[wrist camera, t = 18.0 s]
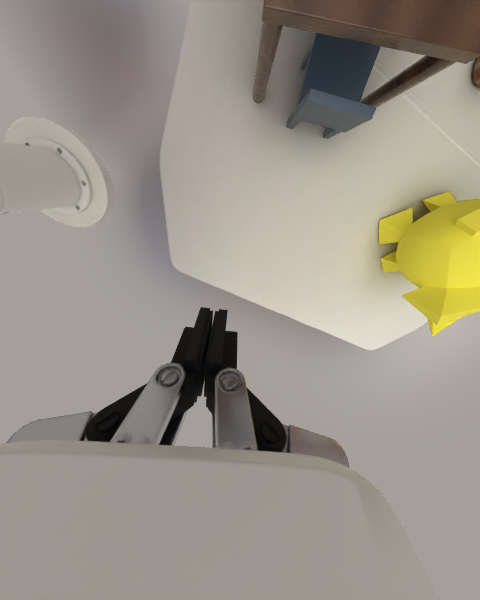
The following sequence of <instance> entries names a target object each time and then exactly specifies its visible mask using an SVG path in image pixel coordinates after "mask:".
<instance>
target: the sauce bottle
mask: <svg viewBox="0 0 480 600" xmlns="http://www.w3.org/2000/svg"><path fill="white" fill-rule="evenodd" d="M473 81H474V83H475V84H476V85H477V86H478V87H480V56H479V57H477V60H476V62H475V64H474V69H473Z"/></svg>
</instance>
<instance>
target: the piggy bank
mask: <svg viewBox="0 0 480 600" xmlns="http://www.w3.org/2000/svg"><path fill="white" fill-rule="evenodd" d="M423 202H424V203H425V205H426V206H427V208H428V209H429V210H430V212H429V213H428V214H426V215H424V216H423V217H421V218H420V219H418V220H417V221H415V222H414V223H413V209H412V208H410V209H407V210H404V211H402V212H399V213H396V214H394V215H391V216H389V217H386V218H383V219H381V220H379V245H380V244H388V243H396V242H398V247H397V250H396V251H394V252H392V253H390V254H388V255H386V256H384V257H382V258H380V259H381V264H382V268H383V272H401V273H402V274H403V275H404V276H405V277H406V278H407V279H408V280H409V281H410V282H412V283H413V284H415V285H416V286H418V287H419V289H416V290H414V291H411V292H409V293H407V294H404V295H402V297H404V298H405V299H406V300H407V301H408V302H409V303H411V304H412V305H413V306H414V307H415V308H417V309H418V310H419V311H420V312H421V313H423V314H424V315H425V316H426V317H427V319H428V322H429V326H430V330H431V333H432V336H434V335H435V334H437V333H438V332H440V331H441V330H443V329H444V328H446V327H447V326H449V325H450V324H452V323H453V322H455V321H456V320H457V319H459V318H460V317H464V316H467V315H469V314H473V313H475V312H478V311H480V199H473V200H464V201H459V202H457V201H456V200H455V198H454V197H453V196H452V194H451V193H450V192H445V193H442V194H439V195H436V196H433V197H430V198H427V199H424V200H423Z"/></svg>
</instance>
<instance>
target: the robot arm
mask: <svg viewBox="0 0 480 600" xmlns="http://www.w3.org/2000/svg"><path fill="white" fill-rule="evenodd" d="M91 201H92V186H91V182H90V179H89V177H88V174H87V173H86V171H85V169H84V167H83V166H82V164H81V163H80V162H79V160H78V159H77V158H76V157H75V156H74V155H73V154H72V153H71V152H70V151H69V150H67V149H66V148H65V147H63V146H62V145H60V144H59V143H56V142H54V141H52V140H49V139H45V138H39V137H34V138H29V139H27V140H25V141H24V142H23V143H22V144H16V143H10V142H5V141H0V215H2V214H11V213H18V212H26V211H34V210H41V209H49V208H53V209H54V210H57V211H59V212H62V213H66V214H75V213H80V212H83V211H84V210H86V209H87V208H88V207H89V205H90V203H91ZM212 316H213V311H210V308H203V307H201V308H200V311H199V314H198V317H197V320H196V323H195V326H194V328H192V327H185V328H184V331H183V333H182V336H181V338H180V341H179V344H178V346H177V349H176V351H175V354H174V356H173V359H172V361H171V363H167V364H165V365H162V366H161V367H159V368H158V369H157V370H156V371H155V373H154V374H153V376H152V377H151V379H150V380H149V382H148V383H147V384H145V385H144V386H142V387H140V388H138V389H137V390H135V391H133V392H132V393H130V394H128V395H126V396H125V397H123V398H121V399H119V400H118V401H116V402H114V403H112V404H111V405H109V406H107V407H106V408H104V409H102V410H101V411H100V412H98V413H92V412H85V413H79V414H73V415H66V416H60V417H54V418H47V419H41V420H37V421H33V422H31V423H29V424H27V425H25V426H23V427H22V428H20V429H19V430H18V431H17V432H15V433H14V434H13V435H12V436H11V438H10V439H9V440H8V441H7V443H6V444H1V445H0V600H440V599H439V597H438V595H437V593H436V590H435V588H434V586H433V584H432V582H431V580H430V578H429V576H428V574H427V572H426V570H425V568H424V566H423V564H422V562H421V560H420V558H419V556H418V554H417V552H416V550H415V549H414V546H413V544H412V542H411V540H410V539H409V537H408V535H407V533H406V531H405V529H404V527H403V526H402V524H401V522H400V520H399V518H398V517H397V515H396V513H395V512H394V510H393V508H392V507H391V505H390V504H389V502H388V501H387V499H386V498H385V497H384V496H383V494H382V493H381V492H380V491H379V490H378V489H377V488H376V487H375V486H374V485H373V484H372V483H371V482H370V481H368V480H367V479H365V478H364V477H363V476H361V475H360V474H358V473H357V472H355V471H353V470H352V469H350V468H349V464H348V459H347V456H346V454H345V452H344V450H343V449H342V447H341V446H340V445H339V444H338V443H337V442H336V441H335V440H333V439H331V438H328V437H326V436H322V435H320V434H316V433H313V432H311V431H307V430H304V429H301V428H298V427H295V426H292V425H289V426H286V425H283V424H282V423H281V422H280V421H279V420H278V419H277V418H276V417H275V416H274V415H273V414H272V413H271V412H270V411H269V410H268V409H267V408H266V407H265V406H264V405H263V404H262V402H260V400H259V399H258V398H257V397H255V395H253V393H251V391H249V389H248V388H247V387H246V383H245V378H244V376H243V374H242V373H241V372H240V371H238V370H237V332H231V331H225V329H226V319H227V310H220V309H219V311H216V312H215V316H214V320H213V325H212V318H213V317H212ZM204 379H205V384H204ZM203 384H204V385H205V386H204V397H207V399H206V407H208V409H209V411H210V412H211V413H212V448H205V447H187V446H174V445H175V443H176V440H177V437H178V435H179V432H180V429H181V427H182V424H183V422H184V419H185V416H186V414H187V410H188V409H189V408H191V407H192V406H193V405H194V402H196V401H197V396H201V394H202V389H203Z"/></svg>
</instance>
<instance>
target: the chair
mask: <svg viewBox="0 0 480 600" xmlns="http://www.w3.org/2000/svg"><path fill="white" fill-rule="evenodd" d="M380 47H381V46H378V45H373V44H369V43H364V42H359V41H354V40H349V39H345V38H340V37H335V36H330V35H325V34H321V33H316V32H315V36H314V39H313V41H312V43H311V45H310V47H309V49H308V51H307V53H306V55H305V57H304V59H303V62H302V66H301V69H302V70H305V75H304V79H303V82H302V86H301V90H300V94H299V98H298V102H297V106H296V110H295V111H294V113H293V114H292V116H291V117H290V118H289V120H288V123H287V128H291V129H292V128H293V127H294V126H295V125H296V124H297V123H298V122H299V120H303V121H306V122H310V123H314V124H317V125H321V126H324V127H328V128H327V129H326V130H325V132H324V135H323V137H324V138H330V137H332V136H334V135H336V134H338V133H340V132H342V131H343V132H346V131H348V130H350V129H352V128H354V127H356V126H358V125H360V124H362V123H364V122H366V121H369V120H371V119H372V117H373V114H374V112H375V110H376V107H373V106H370V105H366V104H363V103H360V102H359V101H360V99H361V96H362V93H363V91H364V88H365V86H366V83H367V80H368V78H369V75H370V73H371V70H372V67H373V65H374V62H375V60H376V57H377V54H378V52H379V49H380Z"/></svg>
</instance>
